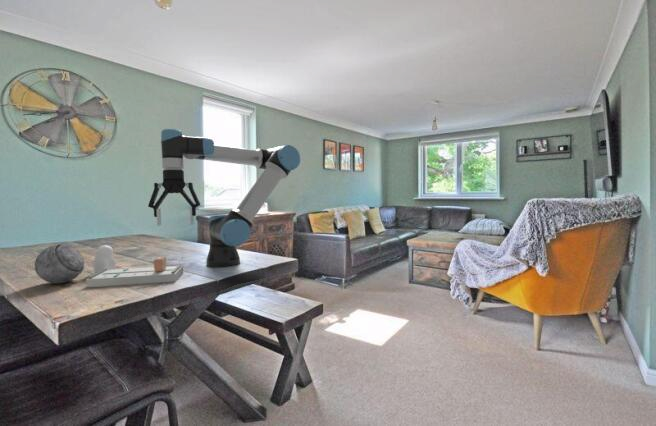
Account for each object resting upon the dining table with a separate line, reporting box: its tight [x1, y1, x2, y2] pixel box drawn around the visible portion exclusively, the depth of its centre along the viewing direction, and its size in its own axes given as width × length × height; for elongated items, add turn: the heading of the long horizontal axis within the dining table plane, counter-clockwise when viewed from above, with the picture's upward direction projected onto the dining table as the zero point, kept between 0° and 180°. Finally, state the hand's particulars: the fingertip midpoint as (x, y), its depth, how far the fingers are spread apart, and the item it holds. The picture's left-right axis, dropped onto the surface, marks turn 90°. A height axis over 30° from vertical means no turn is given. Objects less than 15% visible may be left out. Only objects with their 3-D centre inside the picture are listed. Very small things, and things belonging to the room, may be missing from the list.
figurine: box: [93, 244, 117, 274], centre depth 140 cm, size 7×8×12 cm
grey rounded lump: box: [34, 243, 85, 284], centre depth 126 cm, size 15×14×15 cm
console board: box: [85, 264, 184, 288], centre depth 130 cm, size 30×14×4 cm, turn 102°
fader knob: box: [153, 256, 167, 272], centre depth 131 cm, size 3×5×5 cm, turn 12°
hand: (175, 224), depth 131 cm, fingers open, 11 cm apart
